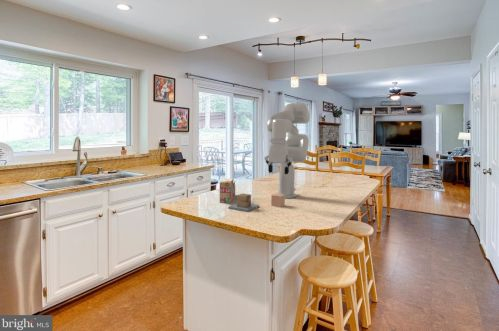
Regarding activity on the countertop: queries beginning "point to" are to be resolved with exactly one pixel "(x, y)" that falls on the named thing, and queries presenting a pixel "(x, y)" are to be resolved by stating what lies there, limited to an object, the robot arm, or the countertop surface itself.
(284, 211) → the countertop surface
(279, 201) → the salmon pink cube
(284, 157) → the robot arm
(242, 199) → the walnut brick
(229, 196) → the stack of blocks
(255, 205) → the baseplate
